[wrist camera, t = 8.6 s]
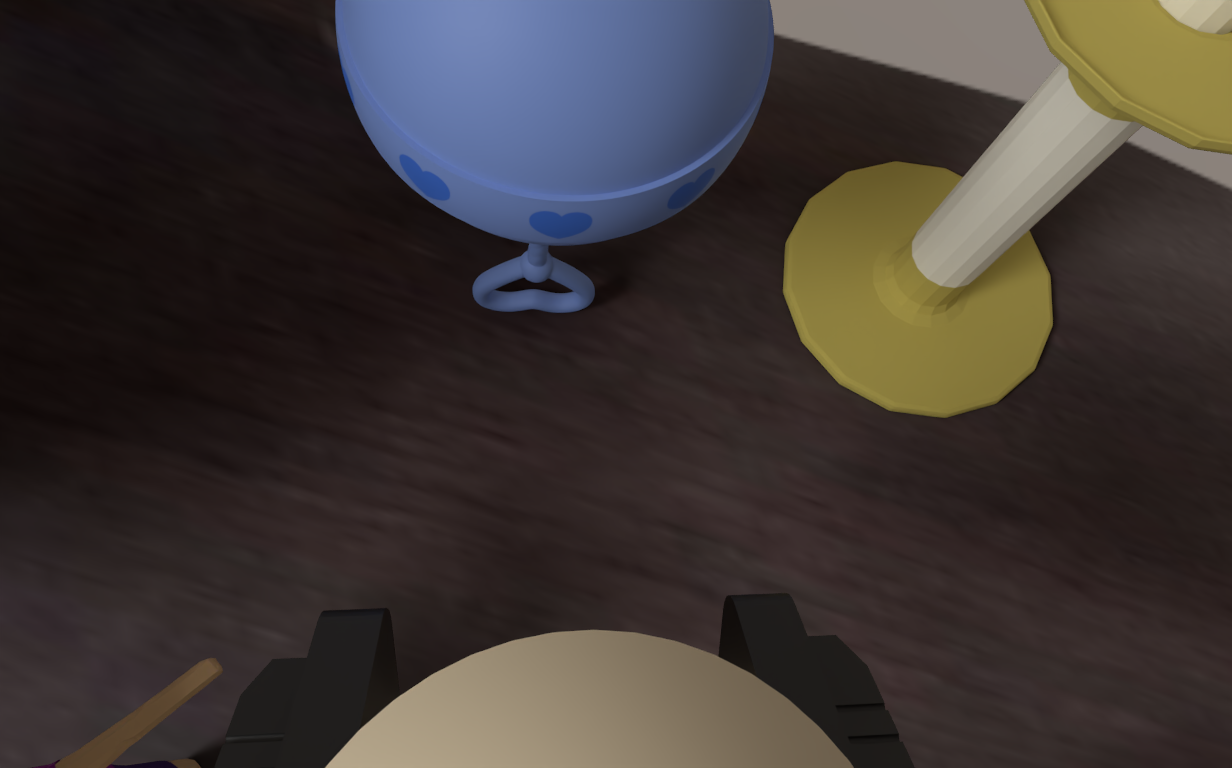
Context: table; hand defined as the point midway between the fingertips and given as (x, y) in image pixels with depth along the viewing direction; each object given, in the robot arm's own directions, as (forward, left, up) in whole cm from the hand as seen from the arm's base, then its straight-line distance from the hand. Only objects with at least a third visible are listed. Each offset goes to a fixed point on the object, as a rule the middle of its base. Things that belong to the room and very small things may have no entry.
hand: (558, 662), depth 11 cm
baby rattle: (+2, -12, -18) cm, 22 cm away
